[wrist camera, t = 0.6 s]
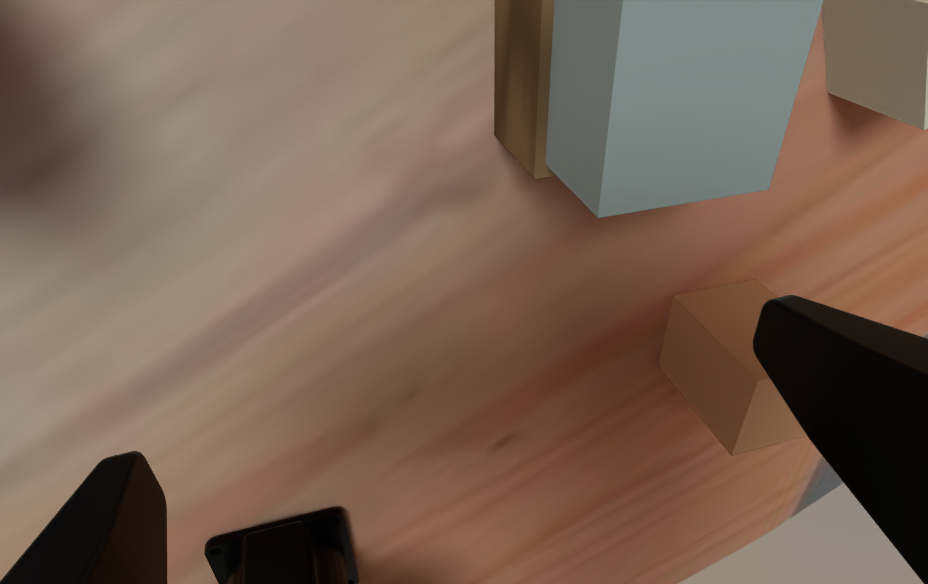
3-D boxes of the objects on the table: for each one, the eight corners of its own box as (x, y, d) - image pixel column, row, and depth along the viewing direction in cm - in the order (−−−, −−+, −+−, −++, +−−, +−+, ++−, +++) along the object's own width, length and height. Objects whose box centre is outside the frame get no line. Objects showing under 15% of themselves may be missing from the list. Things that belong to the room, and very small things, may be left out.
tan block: (733, 348, 32) (817, 433, 27) (657, 365, 31) (731, 455, 26) (754, 278, 29) (852, 358, 24) (673, 294, 28) (758, 381, 23)
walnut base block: (646, 112, 23) (710, 152, 19) (492, 133, 21) (534, 179, 18) (674, -76, 19) (757, -64, 16) (493, -65, 18) (544, -50, 15)
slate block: (694, 142, 19) (768, 189, 16) (545, 164, 18) (598, 218, 15) (730, -38, 16) (828, -18, 13) (555, -24, 15) (622, 1, 12)
